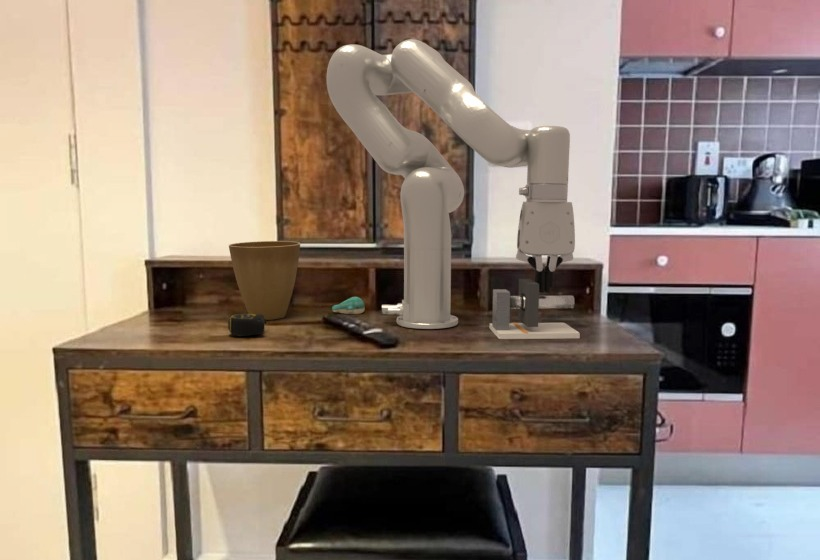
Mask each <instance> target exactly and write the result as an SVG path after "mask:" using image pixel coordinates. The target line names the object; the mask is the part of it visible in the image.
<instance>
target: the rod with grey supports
mask: <svg viewBox="0 0 820 560" xmlns="http://www.w3.org/2000/svg"><path fill="white" fill-rule="evenodd" d="M574 307H575V297H574V295H539V309H574ZM513 309H515V310H516V309H525V296H522V295H519V294H518V295H511V292H510V290H508V289H504V288H503V289H500V288H497V289H494V288H493V289H492V317H491V318H492V320H491V321H492V322H491V323H492V326H493V328H494V329H495V330H509V324H510V323H511V322H510V321H511V320H510V319H511V318H510V315H511V314H510V313H511V312H510V310H513Z"/></svg>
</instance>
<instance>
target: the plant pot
mask: <svg viewBox="0 0 820 560" xmlns="http://www.w3.org/2000/svg"><path fill="white" fill-rule="evenodd" d="M228 248H229V253H230V258H231V259H230V261H231V265H232V269H233V272H234V276H235V281H236V284H237V287H238V289H239V294H240V296H241V298H242V300H243V303H244V306H245V309H246V310H247V314H255V315H258V314H262V315H263V316H264V318H265V319H267V320H266V321H271V320H278V319H283V318H285V317H286V314H287V311H288V308H289V307H290V306H289V305H290V303H291V299H292V296H293V291H294V287H295V283H296V279H297V273H298V272H297V271H298V266H299V260H300V259H299V257H300V252H301V250H300V249H301V242H297V241H291V240H262V241H261V240H260V241H259V240H258V241H246V242H244V241H243V242H235V243H230V244H228Z"/></svg>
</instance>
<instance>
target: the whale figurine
mask: <svg viewBox="0 0 820 560" xmlns="http://www.w3.org/2000/svg"><path fill="white" fill-rule="evenodd" d="M365 307H366V305H365V302H364V300H363V299H362V298H361V297H359V296H351V297H349V298H347V299H346V300H344V301H342V302H340V303H339V304H335V305H334V304H333V306H332V307H331V310H332V312H334V313H340V314H343V315H344V314H345V315H360V314H362V313H364V312H365Z"/></svg>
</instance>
